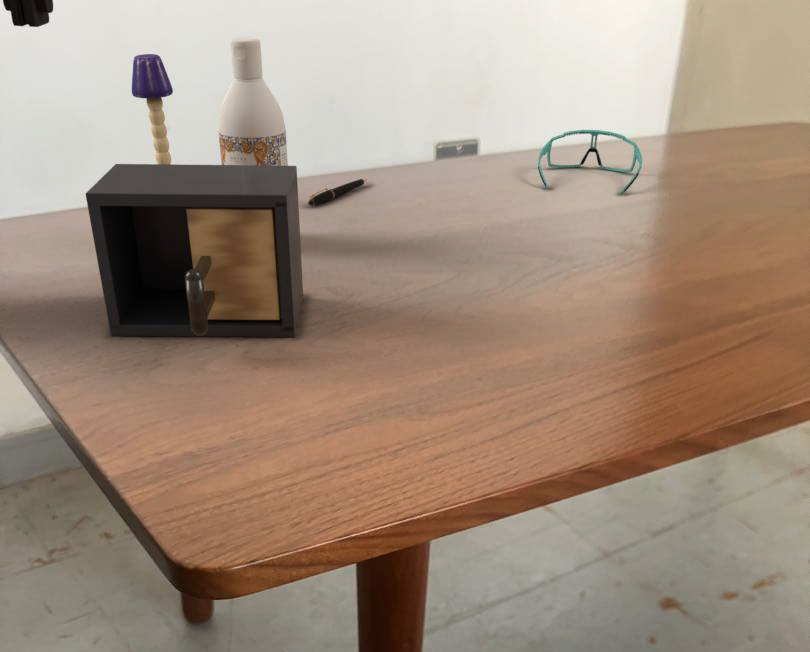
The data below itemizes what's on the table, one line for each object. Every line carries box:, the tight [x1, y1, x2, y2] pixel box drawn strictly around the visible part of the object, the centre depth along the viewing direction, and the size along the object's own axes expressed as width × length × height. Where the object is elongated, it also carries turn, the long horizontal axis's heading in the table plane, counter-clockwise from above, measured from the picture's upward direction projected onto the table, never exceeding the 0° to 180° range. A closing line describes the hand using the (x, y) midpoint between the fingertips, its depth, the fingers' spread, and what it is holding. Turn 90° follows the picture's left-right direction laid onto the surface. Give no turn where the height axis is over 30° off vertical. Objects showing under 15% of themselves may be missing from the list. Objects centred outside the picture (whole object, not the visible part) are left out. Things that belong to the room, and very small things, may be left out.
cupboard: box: [85, 163, 304, 338], centre depth 81 cm, size 16×10×12 cm, turn 91°
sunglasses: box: [537, 129, 643, 195], centre depth 127 cm, size 14×15×5 cm
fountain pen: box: [307, 178, 368, 206], centre depth 118 cm, size 14×1×2 cm, turn 151°
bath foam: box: [217, 36, 289, 166], centre depth 96 cm, size 7×7×20 cm
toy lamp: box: [131, 53, 174, 164], centre depth 109 cm, size 5×5×17 cm
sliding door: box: [185, 207, 281, 337], centre depth 75 cm, size 7×7×9 cm
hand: (31, 23), depth 66 cm, fingers closed
